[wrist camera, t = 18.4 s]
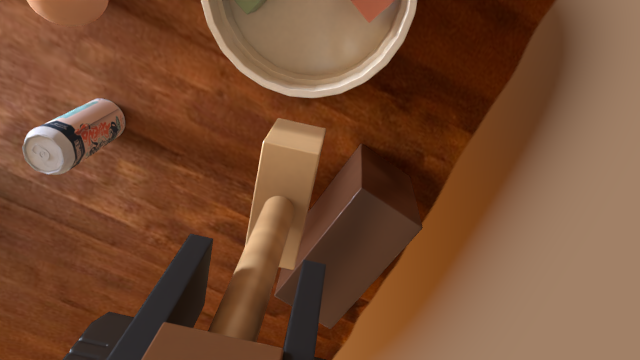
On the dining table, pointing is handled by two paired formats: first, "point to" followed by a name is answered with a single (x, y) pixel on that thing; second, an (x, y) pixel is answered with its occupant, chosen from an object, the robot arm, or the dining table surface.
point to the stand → (355, 232)
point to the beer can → (73, 136)
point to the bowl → (308, 42)
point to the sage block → (250, 5)
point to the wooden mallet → (256, 253)
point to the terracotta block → (371, 7)
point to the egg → (69, 11)
